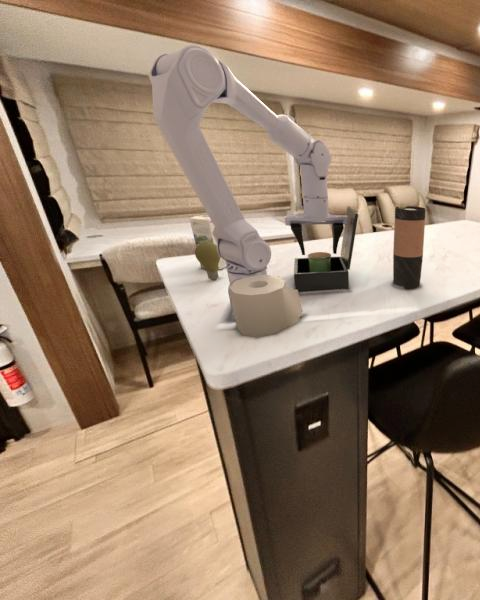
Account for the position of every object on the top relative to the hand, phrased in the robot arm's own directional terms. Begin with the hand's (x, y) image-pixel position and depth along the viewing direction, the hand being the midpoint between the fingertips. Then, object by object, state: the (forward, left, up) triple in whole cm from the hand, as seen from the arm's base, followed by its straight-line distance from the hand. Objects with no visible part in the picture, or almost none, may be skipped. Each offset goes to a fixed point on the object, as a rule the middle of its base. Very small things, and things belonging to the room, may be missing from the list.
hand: (319, 253), depth 78 cm
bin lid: (0, -7, +4) cm, 8 cm away
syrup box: (+20, +29, -8) cm, 36 cm away
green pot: (0, 0, -7) cm, 7 cm away
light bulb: (+8, +27, -8) cm, 29 cm away
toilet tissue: (-20, +11, -8) cm, 24 cm away
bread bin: (0, 0, -8) cm, 8 cm away
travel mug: (-5, -22, -8) cm, 24 cm away
